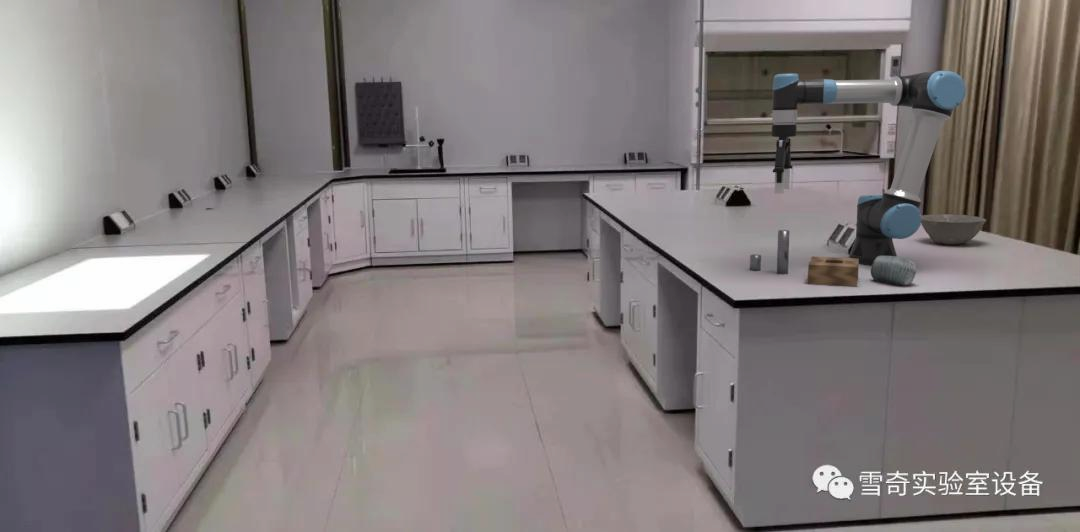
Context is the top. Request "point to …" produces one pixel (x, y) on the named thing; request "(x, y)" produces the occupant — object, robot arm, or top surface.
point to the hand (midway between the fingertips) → (782, 191)
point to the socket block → (833, 271)
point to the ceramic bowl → (952, 227)
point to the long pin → (783, 252)
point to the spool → (893, 270)
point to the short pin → (755, 262)
